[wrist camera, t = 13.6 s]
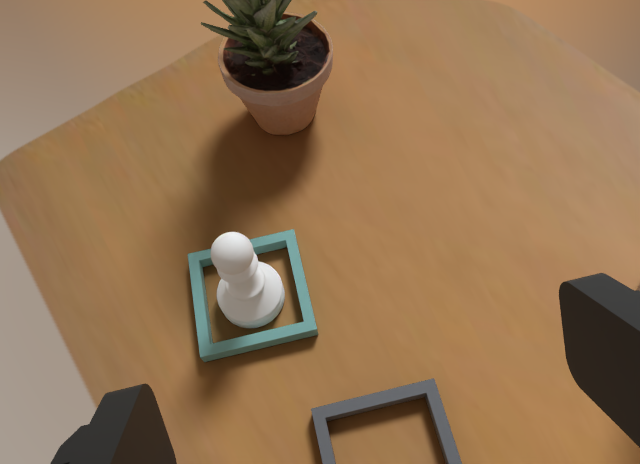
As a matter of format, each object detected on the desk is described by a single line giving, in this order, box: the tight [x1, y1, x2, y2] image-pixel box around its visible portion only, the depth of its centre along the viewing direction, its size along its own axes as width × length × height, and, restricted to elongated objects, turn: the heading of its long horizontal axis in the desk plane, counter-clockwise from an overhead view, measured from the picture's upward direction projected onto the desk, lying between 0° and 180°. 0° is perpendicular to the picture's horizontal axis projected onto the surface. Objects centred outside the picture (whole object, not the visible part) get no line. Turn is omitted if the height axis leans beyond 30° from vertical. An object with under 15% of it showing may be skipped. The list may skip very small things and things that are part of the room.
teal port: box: [188, 229, 318, 362], centre depth 44 cm, size 9×9×1 cm
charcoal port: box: [311, 379, 462, 464], centre depth 37 cm, size 9×9×1 cm
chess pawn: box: [211, 232, 285, 328], centre depth 41 cm, size 5×5×9 cm
